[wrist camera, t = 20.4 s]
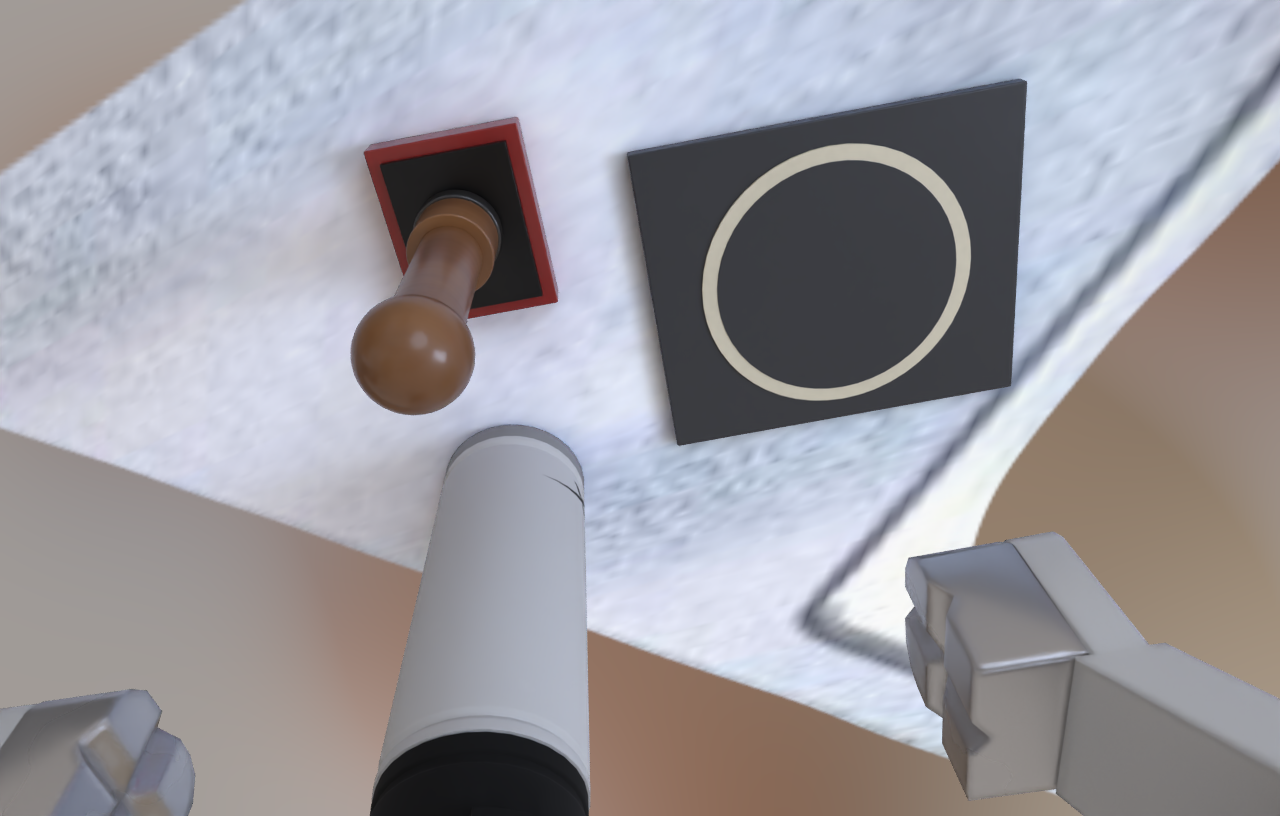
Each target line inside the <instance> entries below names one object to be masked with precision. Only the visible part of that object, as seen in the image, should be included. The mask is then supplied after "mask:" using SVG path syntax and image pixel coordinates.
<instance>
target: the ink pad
mask: <svg viewBox="0 0 1280 816" xmlns="http://www.w3.org/2000/svg"><path fill="white" fill-rule="evenodd" d="M364 156H365V159H366V162H367V165H368V168H369V171H370V174H371V177H372V180H373V184H374V187H375V190H376V193H377V196H378V199H379V202H380V205H381V208H382V211H383V214H384V218H385V221H386V224H387V227H388V230H389V233H390V236H391V239H392V242H393V245H394V248H395V252H396V255H397V258H398V261H399V264H400V267H401V270H402V273H403V276H404V275H405V273H406V271H407V269H408V266H409V265H408V262H407V256H406V247H407V242H408V239H409V236H410V234H411V232H412V230H413V225H414V222H415V219H416V216H417V214H418V212H419V211H420V209H421V207H422V206H423V204H424V203H425V202H426V201H427V200H428V199H429V198H431V197H432V196H434V195H435V194H437V193H440V192H442V191H446V190H465V191H469V192H472V193H474V194H477V195H478V196H480V197H482V198H483V199H485V200H486V201H487V202H488V203H489V204H490V205H491V206H492V207H493V208H494V210H495V211H496V213H497V215H498V217H499V219H500V222H501V225H502V231H503V238H502V244H501V248H500V252H499V255H498V257H497V259H496V261H495V262H494V266H493V270H492V273H491V275H490V277H489V279H488V280H487V281H486V283H485V284H484V285H483V286H482V287H481V288H479V289H478V290H476V291H475V293H474V296H473V300H472V304H471V308H470V311H469V315H468V319H469V318H475V317H480V316H486V315H491V314H496V313H502V312H507V311H513V310H518V309H524V308H529V307H534V306H540V305H545V304H551V303H556V302H558V287H557V283H556V279H555V274H554V270H553V266H552V261H551V257H550V253H549V248H548V244H547V240H546V235H545V231H544V227H543V222H542V218H541V214H540V209H539V205H538V201H537V196H536V192H535V188H534V183H533V179H532V175H531V170H530V166H529V162H528V157H527V153H526V149H525V144H524V140H523V136H522V131H521V127H520V123H519V118H518V117H514V118H508V119H503V120H498V121H493V122H487V123H482V124H477V125H471V126H466V127H461V128H456V129H450V130H445V131H440V132H434V133H429V134H424V135H419V136H413V137H408V138H403V139H397V140H392V141H387V142H382V143H376V144H371V145H370V146H369V147H368V148H367V149H366V150H365V151H364Z"/></svg>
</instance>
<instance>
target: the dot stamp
mask: <svg viewBox="0 0 1280 816" xmlns="http://www.w3.org/2000/svg"><path fill="white" fill-rule="evenodd" d="M502 238H503V231H502V225H501V222H500V219H499V217H498V215H497V213H496V211H495V210H494V208H493V207H492V206H491V205H490V204H489V203H488V202H487V201H486V200H485V199H483V198H482V197H480V196H478V195H477V194H474V193H472V192H469V191H465V190H446V191H442V192H440V193H437V194H435V195H434V196H432V197H431V198H429V199H428V200H427V201H426V202H425V203H424V204H423V206H422V207H421V209H420V211H419V212H418V214H417V216H416V219H415V222H414V225H413V230H412V232H411V234H410V236H409V239H408V242H407V247H406V256H407V262H408V265H409V266H408V269H407V271H406V273H405V275H404V277H403V279H402V281H401V283H400V285H399V287H398V289H397V291H396V294H395V296H394V297H392V298H389V299H387V300H385V301H383V302H381V303H379V304H378V305H376V306H375V307H374V308H372V309H371V310H370V311H369V312H368V313H367V314H366V315H365V316H364V317H363V319H362V320H361V322H360V323H359V324H358V326H357V328H356V330H355V333H354V336H353V339H352V344H351V364H352V368H353V372H354V375H355V377H356V379H357V382H358V383H359V385H360V386H361V388H362V389H363V391H364V392H365V393H366V394H367V395H368V396H369V397H370V398H371V399H372V400H373V401H374V402H376V403H377V404H378V405H380V406H382V407H383V408H385V409H388V410H390V411H393V412H396V413H400V414H405V415H422V414H427V413H432V412H435V411H437V410H440V409H442V408H444V407H446V406H447V405H449V404H450V403H451V402H453V401H454V400H455V399H456V398H457V397H459V396H460V394H461V393H462V392H463V390H464V389H465V388H466V386H467V384H468V383H469V381H470V378H471V376H472V373H473V369H474V364H475V347H474V342H473V338H472V335H471V333H470V330H469V329H468V327H467V325H466V322H467V319H468V315H469V311H470V308H471V304H472V300H473V296H474V293H475V291H476V290H478V289H479V288H481V287H482V286H483V285H484V284H485V283H486V281H487V280H488V279H489V277H490V275H491V273H492V270H493V266H494V262H495V261H496V259H497V257H498V255H499V252H500V248H501V244H502Z"/></svg>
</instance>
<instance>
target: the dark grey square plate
mask: <svg viewBox="0 0 1280 816" xmlns="http://www.w3.org/2000/svg"><path fill="white" fill-rule="evenodd" d="M1026 92H1027V81H1025V80H1022V79H1016V80H1011V81H1005V82H1000V83H995V84H989V85H984V86H979V87H973V88H968V89H963V90H957V91H952V92H947V93H941V94H936V95H931V96H926V97H920V98H915V99H910V100H904V101H899V102H894V103H888V104H883V105H878V106H872V107H867V108H862V109H856V110H851V111H846V112H840V113H835V114H830V115H824V116H819V117H814V118H808V119H803V120H798V121H792V122H787V123H782V124H776V125H771V126H766V127H760V128H755V129H750V130H744V131H739V132H734V133H728V134H723V135H718V136H712V137H707V138H702V139H696V140H691V141H686V142H680V143H675V144H670V145H664V146H659V147H654V148H648V149H643V150H638V151H632V152H628V153H627V157H628V163H629V169H630V175H631V180H632V186H633V192H634V198H635V203H636V209H637V215H638V221H639V226H640V232H641V238H642V244H643V250H644V255H645V261H646V267H647V273H648V278H649V284H650V290H651V296H652V301H653V307H654V313H655V319H656V324H657V330H658V336H659V342H660V348H661V353H662V359H663V365H664V371H665V376H666V382H667V388H668V394H669V399H670V405H671V411H672V417H673V422H674V428H675V434H676V440H677V444H678V445H679V446H680V445H686V444H691V443H697V442H702V441H708V440H713V439H719V438H725V437H730V436H736V435H741V434H747V433H752V432H758V431H764V430H769V429H775V428H780V427H786V426H791V425H797V424H803V423H808V422H814V421H819V420H825V419H830V418H836V417H841V416H847V415H853V414H858V413H864V412H869V411H875V410H880V409H886V408H892V407H897V406H903V405H908V404H914V403H919V402H925V401H931V400H936V399H942V398H947V397H953V396H958V395H964V394H970V393H975V392H981V391H986V390H992V389H997V388H1003V387H1009V386H1011V376H1012V357H1013V338H1014V319H1015V300H1016V282H1017V263H1018V244H1019V225H1020V206H1021V187H1022V168H1023V149H1024V130H1025V111H1026Z"/></svg>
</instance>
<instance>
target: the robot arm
mask: <svg viewBox="0 0 1280 816" xmlns="http://www.w3.org/2000/svg"><path fill="white" fill-rule="evenodd" d="M905 587H906V589H907V591H908V594H909V596H910V598H911V600H912V602H913V604H914V606H915V607H914V608H913V609H912V610H911V612H910V613H909V614H908V615H907V617H906V618H905V625H906V644H907V649H908V654H909V660H910V665H911V669H912V672H913V675H914V678H915V681H916V684H917V687H918V689H919V692H920V694H921V696H922V699H923V701H924V703H925V706H926V707H927V708H928V709H930V710H931V711H933V712H934V713H936V714H937V715H939V716H940V717H942V718H943V728H942V744H943V746H944V748H945V750H946V753H947V755H948V757H949V759H950V761H951V763H952V766H953V768H954V770H955V772H956V775H957V777H958V779H959V781H960V783H961V785H962V788H963V790H964V792H965V794H966V797H967V798H968V800H969V801H970V800H977V799H985V798H993V797H1000V796H1008V795H1014V794H1023V793H1030V792H1037V791H1045V790H1052V789H1056V794H1057V795H1058V796H1060V797H1061V798H1062V799H1064V800H1065V801H1066V802H1067V803H1068V804H1070V805H1071V806H1072V807H1073V808H1075V809H1076V810H1077V811H1078V812H1080V813H1081V814H1082V815H1083V816H1280V699H1279V698H1277V697H1275V696H1273V695H1271V694H1269V693H1267V692H1265V691H1262V690H1261V689H1258V688H1256V687H1254V686H1252V685H1250V684H1248V683H1246V682H1244V681H1242V680H1240V679H1238V678H1236V677H1234V676H1232V675H1230V674H1228V673H1226V672H1224V671H1222V670H1220V669H1218V668H1215V667H1214V666H1212V665H1209V664H1207V663H1205V662H1203V661H1201V660H1199V659H1197V658H1195V657H1193V656H1191V655H1189V654H1187V653H1185V652H1183V651H1181V650H1179V649H1177V648H1175V647H1173V646H1170V645H1169V644H1167V643H1161V644H1153V645H1149V644H1148V643H1147V641H1146V640H1145V639H1144V638H1143V636H1142V635H1141V634H1140V633H1139V631H1138V630H1137V629H1136V628H1135V626H1134V625H1133V624H1132V623H1131V621H1130V620H1129V619H1128V618H1127V616H1126V615H1125V614H1124V613H1123V611H1122V610H1121V609H1120V608H1119V606H1118V605H1117V604H1116V603H1115V601H1114V600H1113V599H1112V598H1111V596H1110V595H1109V594H1108V593H1107V591H1106V590H1105V589H1104V588H1103V586H1102V585H1101V584H1100V583H1099V581H1098V580H1097V579H1096V578H1095V576H1094V575H1093V574H1092V573H1091V572H1090V570H1089V569H1088V568H1087V566H1086V565H1085V564H1084V563H1083V561H1082V560H1081V559H1080V558H1079V556H1078V555H1077V554H1076V553H1075V551H1074V550H1073V549H1072V547H1071V546H1070V545H1069V544H1068V542H1067V541H1066V540H1065V539H1064V538H1063V536H1060V535H1059V534H1057V533H1055V532H1048V533H1042V534H1037V535H1031V536H1026V537H1020V538H1015V539H1010V540H1005V541H1004V542H995V543H990V544H985V545H979V546H973V547H967V548H961V549H956V550H950V551H944V552H939V553H933V554H927V555H922V556H916V557H911V558H908V561H907V565H906V568H905ZM161 714H162V710H161V709H160V708H159V706H158V705H157V703H156V702H155V701H154V699H153V698H152V697H151V695H150V694H149V693H148V691H147V690H135V689H129V690H121V691H114V692H107V693H101V694H95V695H87V696H80V697H73V698H66V699H59V700H52V701H45V702H42V703H39V704H33V705H24V706H17V707H10V708H3V709H0V816H188V814H189V812H190V809H191V807H192V804H193V796H194V783H195V772H194V768H193V764H192V761H191V757H190V754H189V752H188V751H187V749H186V747H185V746H184V744H183V743H182V741H181V739H179V738H177V737H175V736H173V735H171V734H169V733H167V732H165V731H163V730H161V729H160V728H158V723H159V720H160V717H161Z"/></svg>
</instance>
